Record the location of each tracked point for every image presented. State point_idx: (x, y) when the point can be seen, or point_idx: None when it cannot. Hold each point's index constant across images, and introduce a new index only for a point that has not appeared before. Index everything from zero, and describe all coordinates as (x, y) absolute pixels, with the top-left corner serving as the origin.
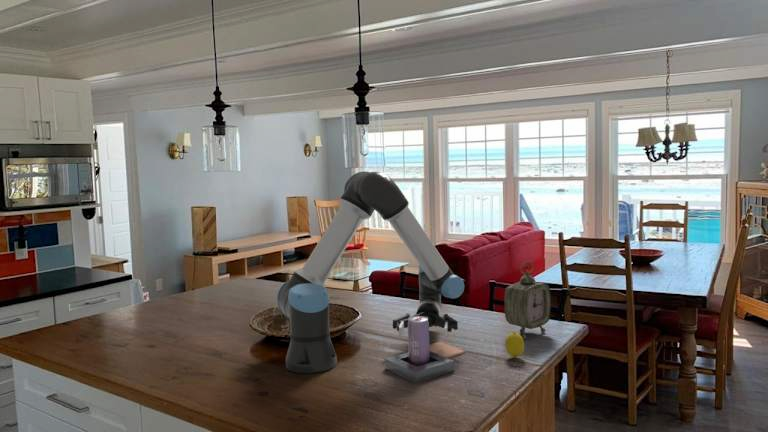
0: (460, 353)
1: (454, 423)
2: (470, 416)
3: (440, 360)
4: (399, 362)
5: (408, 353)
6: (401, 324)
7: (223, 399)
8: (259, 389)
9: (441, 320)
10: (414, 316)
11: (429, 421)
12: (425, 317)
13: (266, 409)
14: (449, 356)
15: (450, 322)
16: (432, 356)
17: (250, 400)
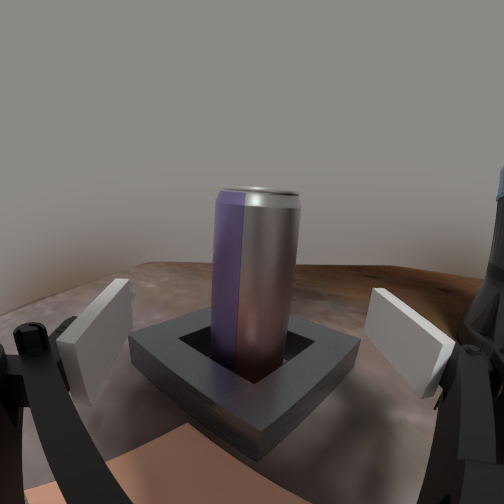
0: (53, 486)
1: (174, 263)
2: (151, 268)
3: (172, 336)
4: (304, 326)
5: (307, 377)
6: (406, 310)
7: (460, 283)
8: (460, 294)
9: (80, 418)
10: (284, 189)
11: (205, 265)
12: (232, 186)
13: (404, 276)
14: (117, 460)
15: (36, 342)
16: (200, 359)
17: (438, 283)
